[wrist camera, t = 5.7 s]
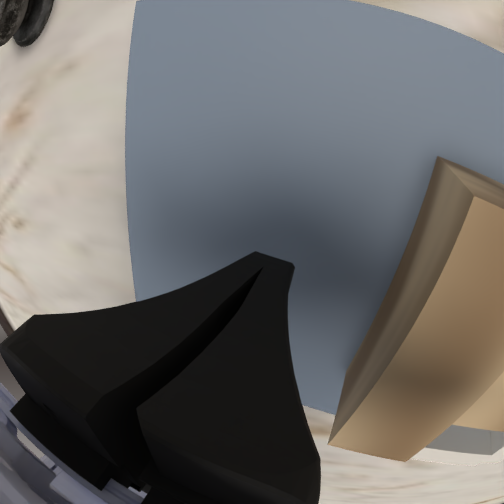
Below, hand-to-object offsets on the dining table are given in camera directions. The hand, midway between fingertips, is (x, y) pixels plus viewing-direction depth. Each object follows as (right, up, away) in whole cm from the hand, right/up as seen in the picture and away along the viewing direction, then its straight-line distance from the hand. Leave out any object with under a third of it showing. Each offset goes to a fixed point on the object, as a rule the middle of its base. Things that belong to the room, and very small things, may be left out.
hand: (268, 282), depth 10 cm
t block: (+9, -2, -1) cm, 10 cm away
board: (+5, 0, +1) cm, 5 cm away
